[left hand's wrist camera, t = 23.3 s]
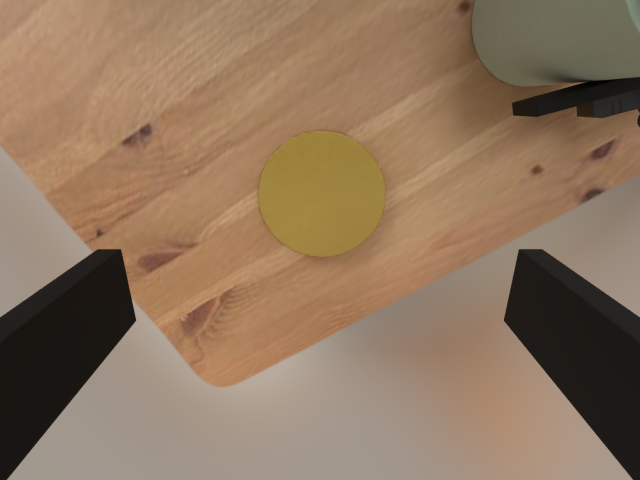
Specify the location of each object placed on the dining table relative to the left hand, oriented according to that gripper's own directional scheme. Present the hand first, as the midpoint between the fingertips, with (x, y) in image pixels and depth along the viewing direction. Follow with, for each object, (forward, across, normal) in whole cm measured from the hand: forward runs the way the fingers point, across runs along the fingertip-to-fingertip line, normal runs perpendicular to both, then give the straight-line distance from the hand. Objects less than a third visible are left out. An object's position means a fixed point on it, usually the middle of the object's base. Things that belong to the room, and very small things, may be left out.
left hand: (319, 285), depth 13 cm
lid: (+16, 0, -1) cm, 16 cm away
